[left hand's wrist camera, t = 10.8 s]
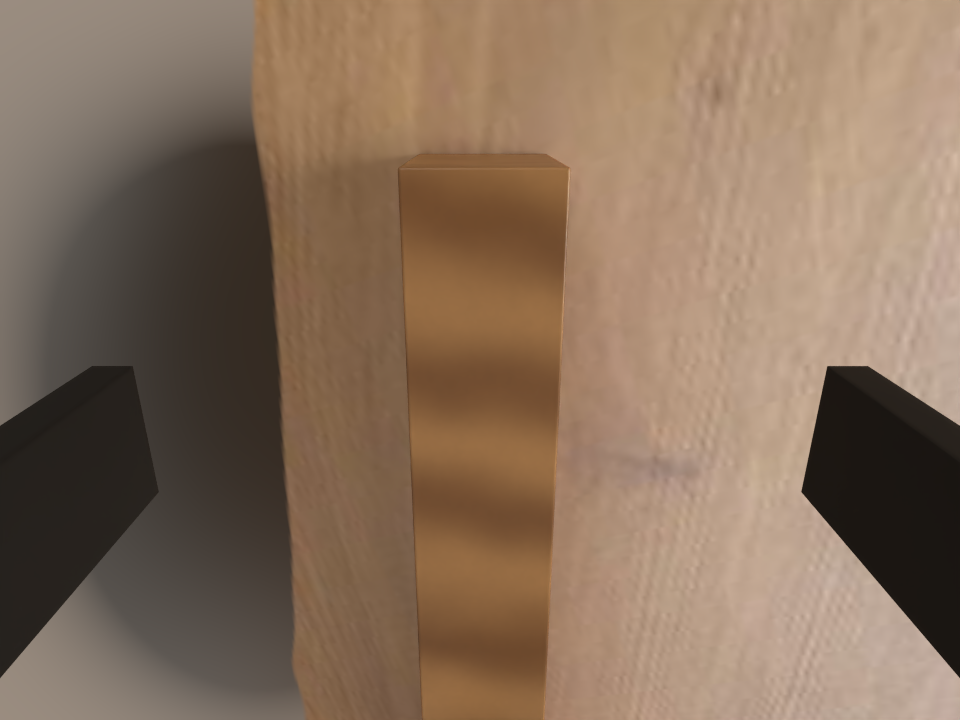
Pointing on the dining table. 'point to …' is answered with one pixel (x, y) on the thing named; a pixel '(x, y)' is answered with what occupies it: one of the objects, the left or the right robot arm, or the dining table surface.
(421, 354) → the beam
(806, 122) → the dining table surface
